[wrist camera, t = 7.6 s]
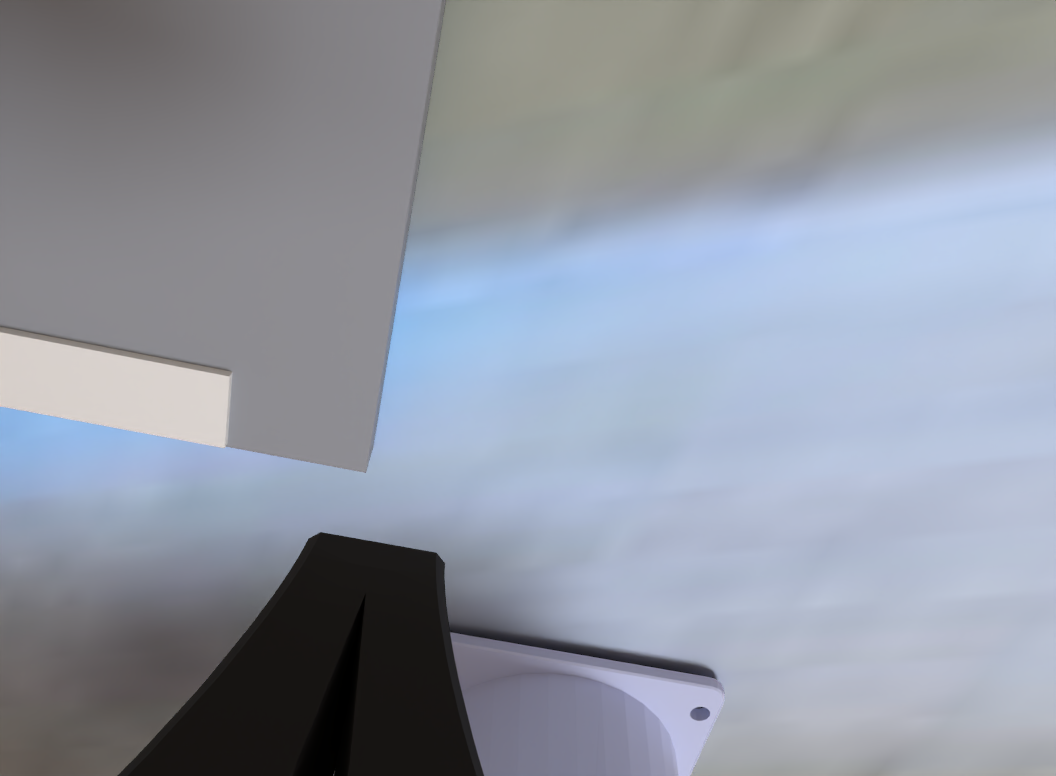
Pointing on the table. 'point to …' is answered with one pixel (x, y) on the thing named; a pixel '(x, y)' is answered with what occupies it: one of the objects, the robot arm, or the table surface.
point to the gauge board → (209, 214)
